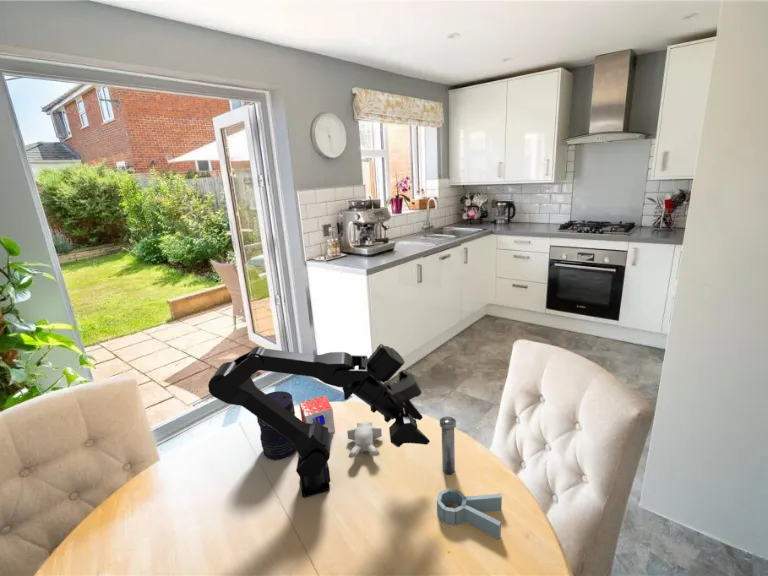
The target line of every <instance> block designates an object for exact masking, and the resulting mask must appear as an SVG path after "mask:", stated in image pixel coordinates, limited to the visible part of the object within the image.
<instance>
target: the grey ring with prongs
mask: <svg viewBox="0 0 768 576" xmlns="http://www.w3.org/2000/svg"><path fill="white" fill-rule="evenodd" d="M502 499H503V497H502V495H501V493H490V494H482V495H481V494H480V495H479V494H478V495H467V496H466V495H465V494H464V493H463V492H462V491H461V490H459V489H454V488H449V487H447V488H445V489H443V490H441V491H439V492H438V494H437V500H436V514H437V517H439V519H440V520H441V522H442V523H444V524H445V525H451V526H459V525H460V524H462V523H463V522H465V523H466V524H468V525H469V526H471V527H474V528H476V529H478V530H479V531H482V532H483V533H485V534H487V535H488V536H490V537H493V538H495V539H496V540H498V541H499V540H500V538H501V536H502V535H501V534H502V521H500V520H498V519H496V518H494V517H492V516H489V515H488V514H486V512H487V513H491V512H499V511H502V506H503V505H502V503H503V502H502ZM449 505H451V506H452V505H453V506H456V508H452V507H448V506H449Z"/></svg>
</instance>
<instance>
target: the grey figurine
mask: <svg viewBox="0 0 768 576" xmlns="http://www.w3.org/2000/svg"><path fill="white" fill-rule="evenodd" d="M346 433H347V440H350V441H354V447H353V448H352V449H350V451H349V453H348V456H347V457H348V458H350V459H353V458H355V457H356V456H357V455H358V454H359V453H361V452H368V453H369V454H371V455H372V456H374V457H377V456H379V455H380V452H379V450H378V448H377V447H375V444H374V441H375V440H377V439H379V438H380V437H383V435H382V428H381V427H377V426H373V422H372V421H370V422H368V421H367V422H356V427H354V428H352V429H351V428H350V429H349V430H347V432H346Z"/></svg>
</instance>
